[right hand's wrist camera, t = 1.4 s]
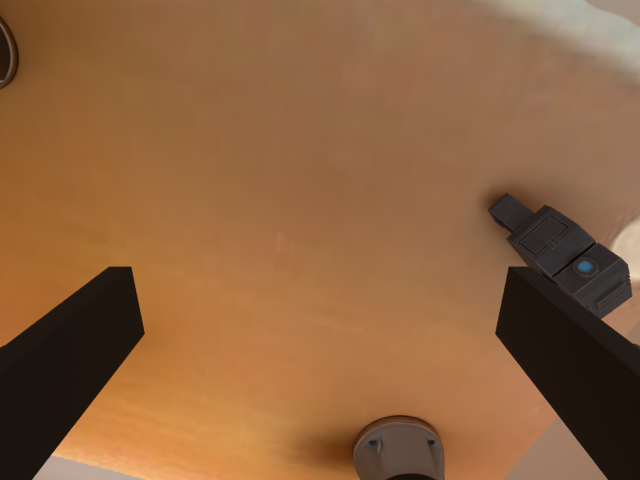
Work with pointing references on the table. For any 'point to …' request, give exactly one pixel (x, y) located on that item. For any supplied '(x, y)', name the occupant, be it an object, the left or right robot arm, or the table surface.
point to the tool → (565, 255)
